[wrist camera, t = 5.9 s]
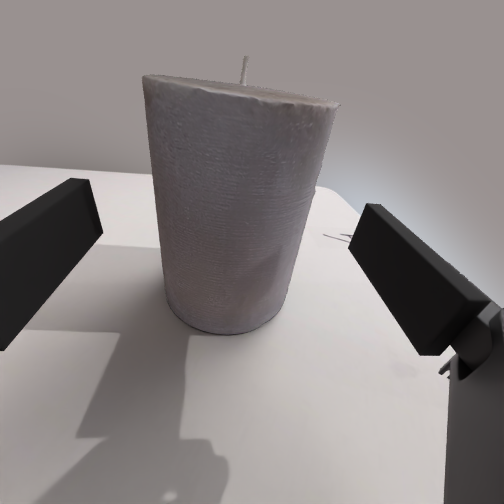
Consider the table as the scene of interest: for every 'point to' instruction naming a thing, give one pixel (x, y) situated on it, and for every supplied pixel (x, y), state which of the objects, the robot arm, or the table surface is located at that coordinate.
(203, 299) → the pillar candle
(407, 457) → the table surface
